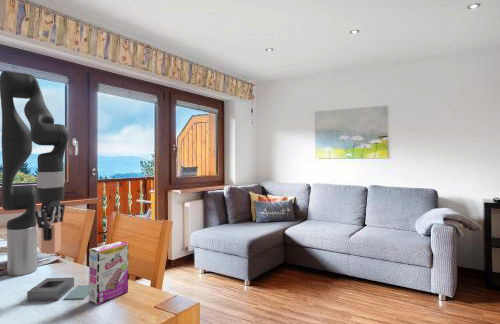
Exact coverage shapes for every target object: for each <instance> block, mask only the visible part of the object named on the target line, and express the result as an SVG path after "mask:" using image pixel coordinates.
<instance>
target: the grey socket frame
mask: <svg viewBox="0 0 500 324" xmlns="http://www.w3.org/2000/svg"><path fill="white" fill-rule="evenodd" d="M74 287H75V277H48V278H47V277H45V279H43V280H42V281H40V282H39V283H38V284H36V285H35V286H33V287H32V288H30V289H29V290H28V291H27V292H26V296H27V297H26V300H27V301H26V302H29V303H30V302H57V301H60V300H61V298H62V297H63V298H64V296H65V295H66V294H67V293H68V292H69V291H70V290H71V289H72V288H74Z"/></svg>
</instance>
